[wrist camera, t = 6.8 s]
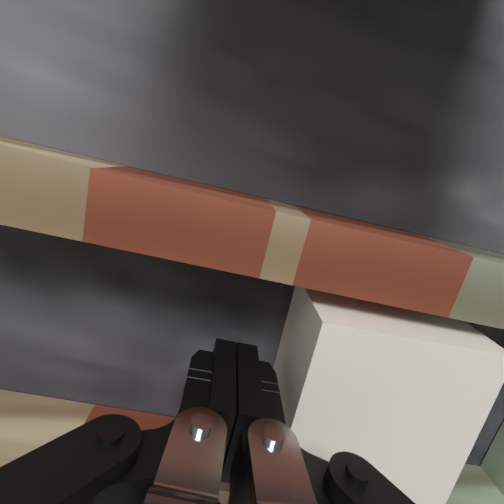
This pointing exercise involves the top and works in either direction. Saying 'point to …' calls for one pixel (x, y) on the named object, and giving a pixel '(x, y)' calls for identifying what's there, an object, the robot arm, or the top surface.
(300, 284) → the channel
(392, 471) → the ivory block
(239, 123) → the top surface
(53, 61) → the top surface
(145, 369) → the top surface
